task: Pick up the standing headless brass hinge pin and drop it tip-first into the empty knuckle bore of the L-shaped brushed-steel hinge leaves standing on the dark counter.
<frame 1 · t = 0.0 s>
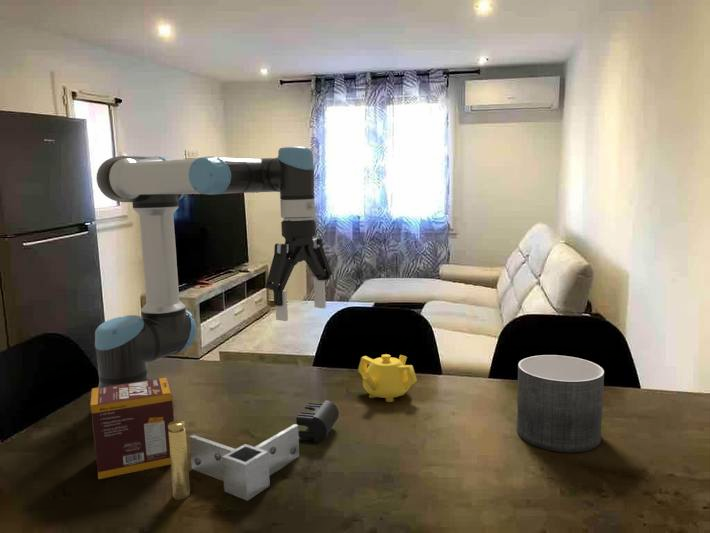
hand: (301, 313, 126), 28 cm above the table, fingers open, 13 cm apart
hinge pin: (181, 494, 105), on the table
teapot: (386, 395, 152), on the table
supplement box: (137, 461, 119), on the table
planter: (557, 435, 126), on the table
hinge leaves: (247, 488, 107), on the table
end cap: (318, 436, 128), on the table
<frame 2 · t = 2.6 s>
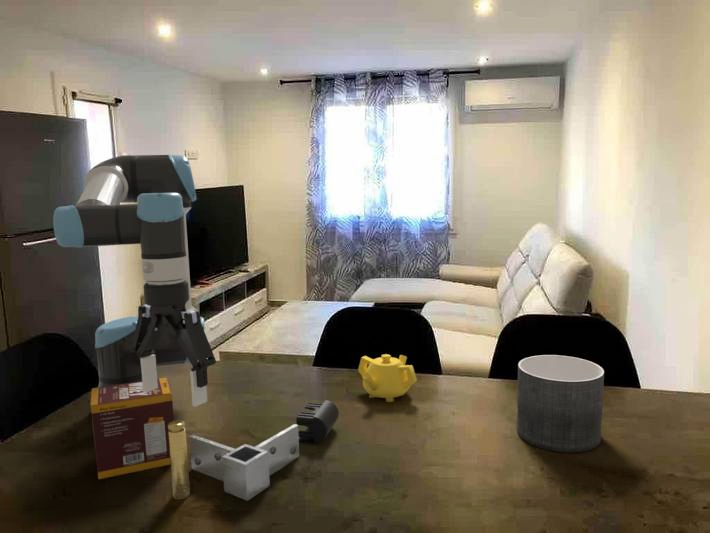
hand: (174, 396, 102), 19 cm above the table, fingers open, 13 cm apart
nothing on the table moved.
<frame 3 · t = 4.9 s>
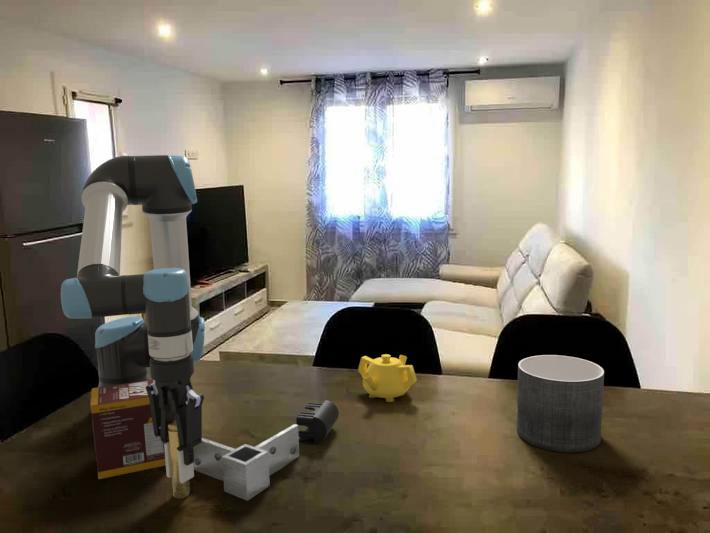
hand: (180, 476, 105), 4 cm above the table, fingers closed on hinge pin, 3 cm apart
hinge pin: (181, 494, 105), on the table, touching gripper
everything else where it was.
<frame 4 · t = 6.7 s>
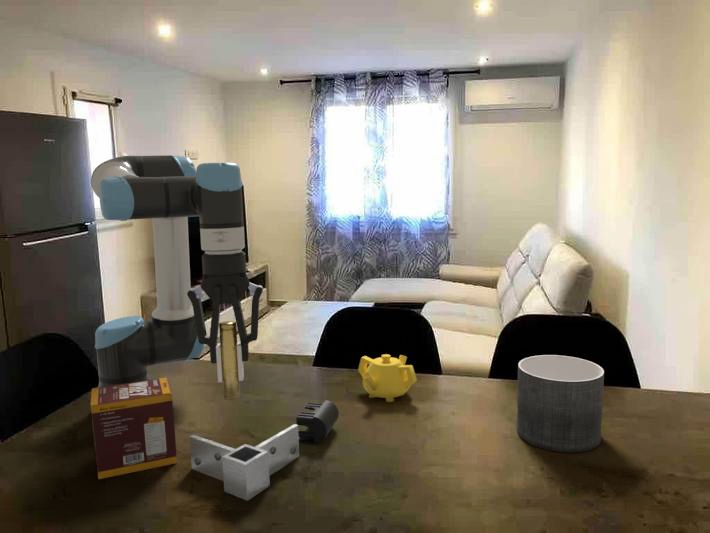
hand: (231, 378, 103), 22 cm above the table, fingers closed on hinge pin, 3 cm apart
hinge pin: (232, 397, 103), point 18 cm above the table, touching gripper
everything else where it was.
when the fingers open (9 cm above the table, at t = 9.0 s): hinge pin drops 5 cm, resting in hinge leaves.
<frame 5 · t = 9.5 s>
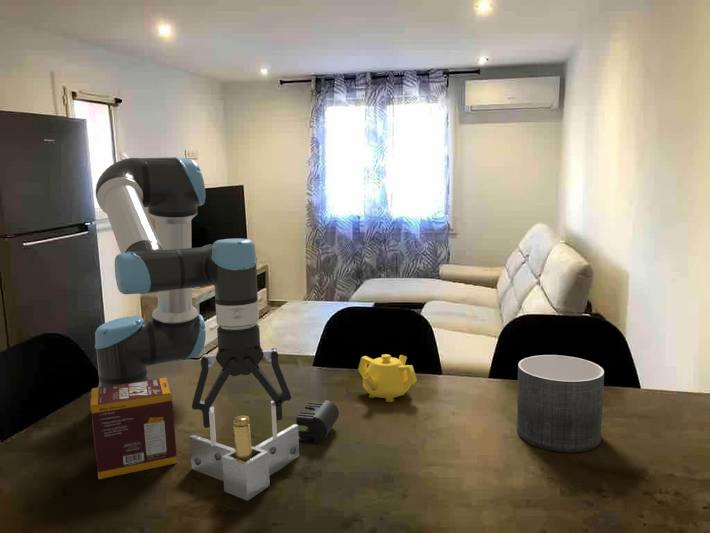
hand: (244, 439, 105), 10 cm above the table, fingers open, 10 cm apart
hinge pin: (247, 488, 107), resting in hinge leaves
everything else where it was.
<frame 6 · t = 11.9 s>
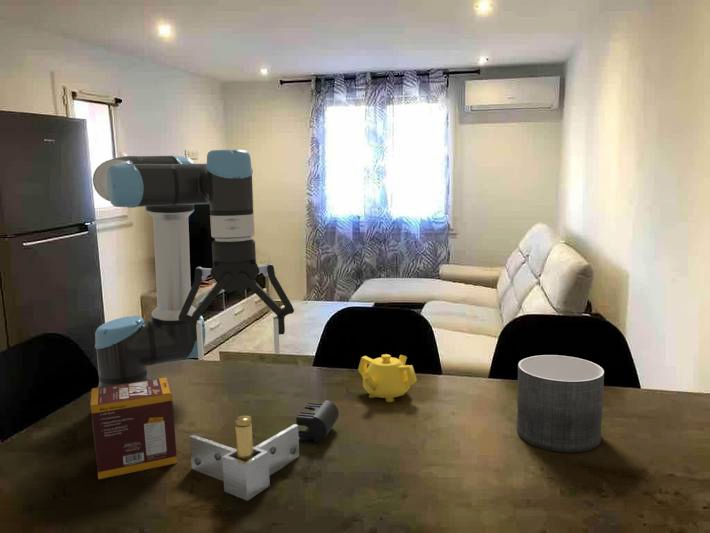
hand: (239, 354, 103), 26 cm above the table, fingers open, 13 cm apart
nothing on the table moved.
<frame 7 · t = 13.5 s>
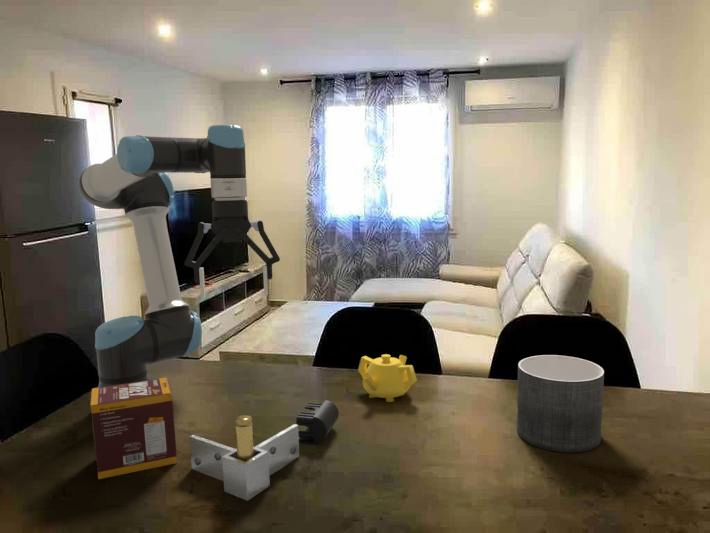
hand: (234, 296, 124), 33 cm above the table, fingers open, 13 cm apart
nothing on the table moved.
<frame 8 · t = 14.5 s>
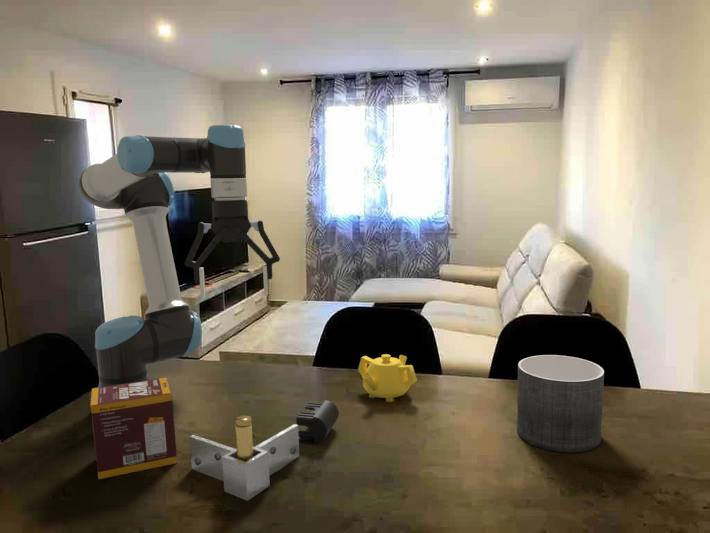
hand: (235, 296, 124), 33 cm above the table, fingers open, 13 cm apart
nothing on the table moved.
at the end: hinge pin 0.0 cm off-centre on the hinge leaves, point 0.0 cm above the hinge leaves's base; hinge pin tilted 0°; the gripper is holding nothing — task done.
